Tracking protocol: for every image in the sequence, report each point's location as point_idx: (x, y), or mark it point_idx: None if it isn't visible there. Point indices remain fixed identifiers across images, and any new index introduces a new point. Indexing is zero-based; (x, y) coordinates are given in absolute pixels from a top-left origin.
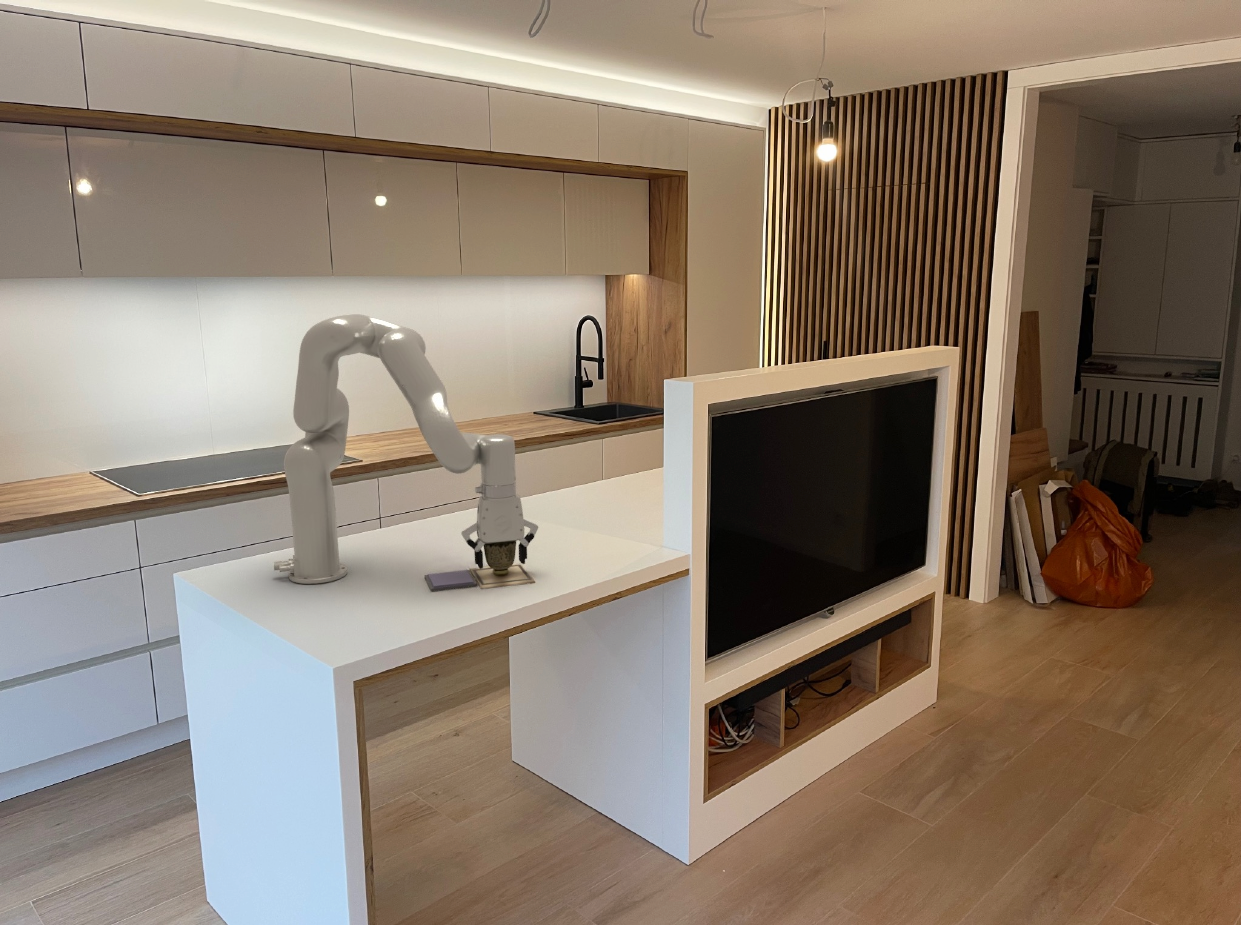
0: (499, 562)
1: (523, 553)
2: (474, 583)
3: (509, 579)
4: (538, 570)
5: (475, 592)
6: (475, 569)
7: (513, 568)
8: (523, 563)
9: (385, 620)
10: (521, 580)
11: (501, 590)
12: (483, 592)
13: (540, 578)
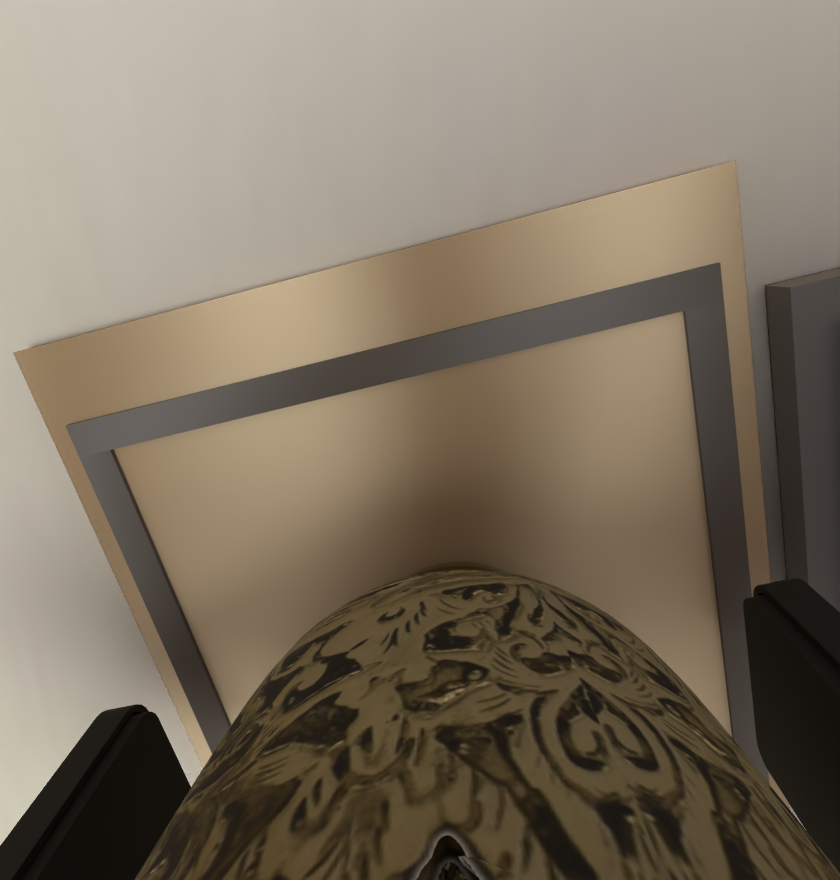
0: (484, 594)
1: (14, 858)
2: (829, 292)
3: (349, 455)
4: (76, 742)
5: (823, 20)
6: None
7: None
8: (127, 706)
9: None
10: (193, 395)
11: (444, 77)
12: (706, 6)
13: (2, 503)
